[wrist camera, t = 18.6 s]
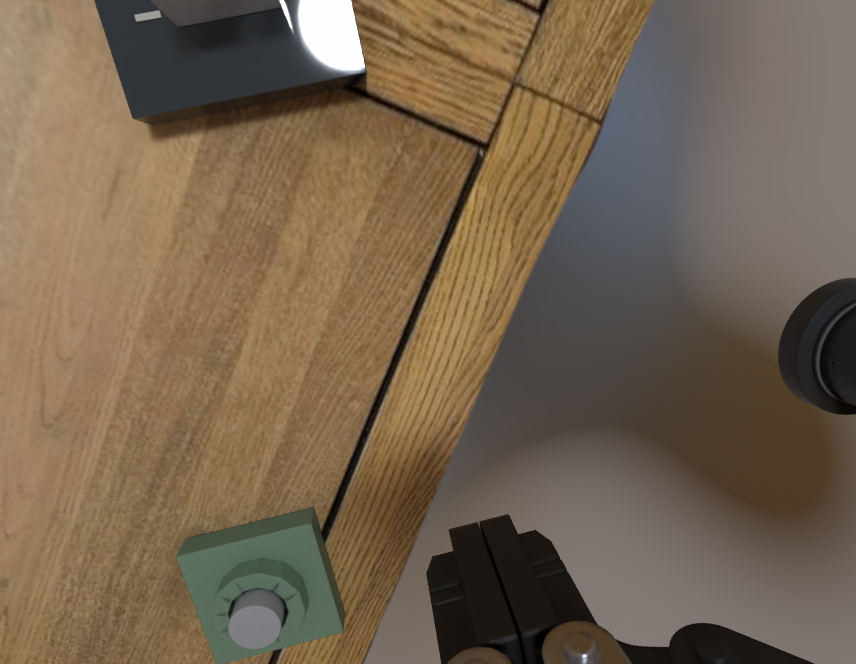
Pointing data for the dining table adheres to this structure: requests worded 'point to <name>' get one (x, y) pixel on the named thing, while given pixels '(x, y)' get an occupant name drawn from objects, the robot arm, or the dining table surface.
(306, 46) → the lever base
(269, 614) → the button
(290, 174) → the dining table surface
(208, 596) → the button block
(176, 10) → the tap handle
